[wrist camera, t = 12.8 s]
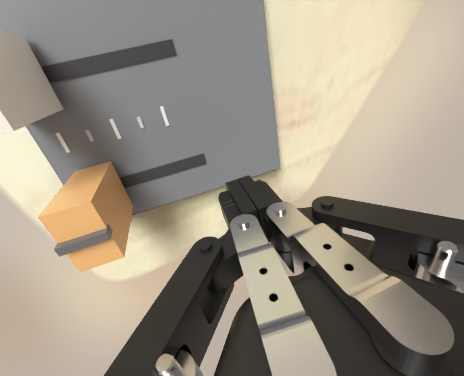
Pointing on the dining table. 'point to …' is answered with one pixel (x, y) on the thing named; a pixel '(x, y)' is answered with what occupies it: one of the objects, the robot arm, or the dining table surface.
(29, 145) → the dining table surface
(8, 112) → the cream fader
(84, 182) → the orange fader
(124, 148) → the console
